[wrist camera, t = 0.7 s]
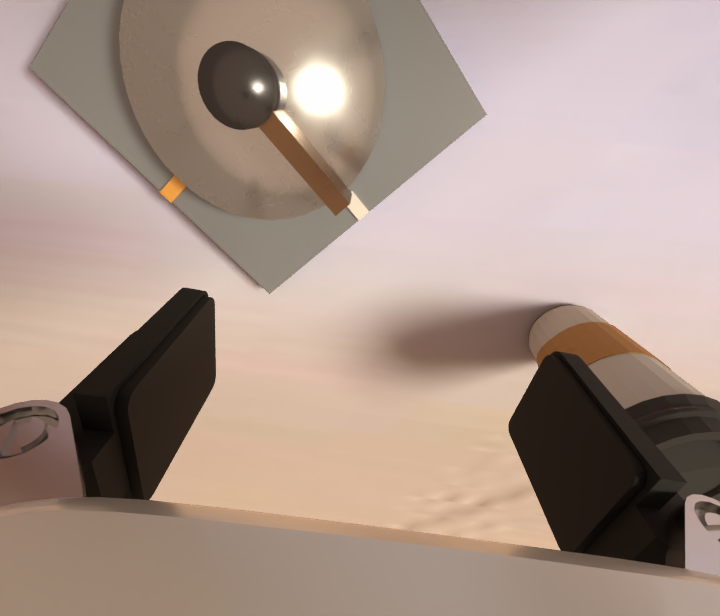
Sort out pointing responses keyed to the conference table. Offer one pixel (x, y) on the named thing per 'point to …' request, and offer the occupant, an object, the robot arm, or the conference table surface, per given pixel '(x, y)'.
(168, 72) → the dial
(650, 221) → the conference table surface
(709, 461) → the coffee cup
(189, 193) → the dial plate
